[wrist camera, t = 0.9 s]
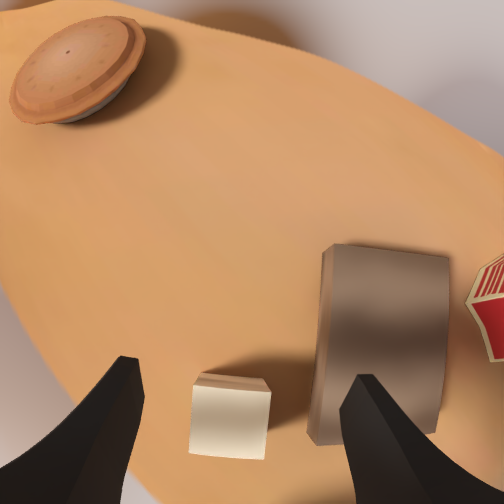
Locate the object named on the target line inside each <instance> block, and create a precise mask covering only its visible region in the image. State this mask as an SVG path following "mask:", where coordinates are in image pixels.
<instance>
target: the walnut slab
mask: <svg viewBox="0 0 504 504" xmlns="http://www.w3.org/2000/svg"><path fill="white" fill-rule="evenodd" d="M448 322H449V258H445V257H438V256H430V255H423V254H415V253H407V252H399V251H391V250H383V249H375V248H367V247H359V246H351V245H343V244H333V245H332V246H331V247H329V248H328V249H327V250H326V251H324V252H323V253H322V273H321V291H320V306H319V320H318V332H317V344H316V355H315V365H314V375H313V384H312V393H311V401H310V409H309V417H308V425H307V432H306V433H307V434H308V435H309V437H310V438H311V439H312V441H313V442H314V443H315V445H316V446H323V445H343V444H344V442H343V438H342V432H341V424H340V414H339V408H340V406H341V405H342V403H343V401H344V399H345V397H346V395H347V393H348V391H349V389H350V387H351V385H352V384H353V382H354V380H355V378H356V376H357V374H373V375H374V376H375V377H376V378H377V379H378V381H379V382H380V383H381V384H382V385H383V387H384V388H385V389H386V390H387V392H388V393H389V394H390V395H391V397H392V398H393V399H394V400H395V402H396V403H397V404H398V405H399V406H400V408H401V409H402V410H403V411H404V412H405V414H406V415H407V416H408V417H409V418H410V419H411V421H412V422H413V423H414V424H415V425H416V426H417V427H418V428H419V429H420V431H421V432H422V433H423V434H424V435H425V434H430V433H435V431H436V426H437V420H438V415H439V409H440V403H441V396H442V389H443V382H444V373H445V364H446V353H447V340H448Z"/></svg>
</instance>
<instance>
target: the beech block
mask: <svg viewBox="0 0 504 504" xmlns="http://www.w3.org/2000/svg"><path fill="white" fill-rule="evenodd" d="M270 400H271V391H270V389H269V388H268V386H267V384H266V383H265V381H264V379H263V378H252V377H240V376H229V375H219V374H210V373H200V375H199V376H198V378H197V380H196V382H195V383H194V385H193V397H192V410H191V425H190V441H189V453H193V454H201V455H209V456H219V457H230V458H244V459H264V453H265V445H266V436H267V427H268V419H269V410H270Z"/></svg>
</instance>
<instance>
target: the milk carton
mask: <svg viewBox="0 0 504 504" xmlns="http://www.w3.org/2000/svg"><path fill="white" fill-rule="evenodd" d="M465 304H466V306H467V307H468V309H469V310H470V312H471V314H472V315H473V317H474V318H475V320H476V322H477V323H478V325H479V327H480V330H481V333H482V336H483V339H484V343H485V346H486V349H487V353H488V356H489V360H490V362H503V361H504V254H503V255H501V256H500V257H498V258H497V259H495V260H494V261H492V262H491V263H489V264H487V265H486V266H484V267H483V268H481V269H480V271H479V273H478V276H477V278H476V280H475V283H474V285H473V287H472V289H471V292H470V294H469V296H468V298H467V300H466V302H465Z"/></svg>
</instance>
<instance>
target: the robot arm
mask: <svg viewBox="0 0 504 504" xmlns="http://www.w3.org/2000/svg"><path fill="white" fill-rule="evenodd" d="M144 398H145V395H144V390H143V384H142V379H141V373H140V367H139V360H138V359H137V358H131V357H125V356H120V357H118V358H117V359H116V361H115V362H114V363H113V365H112V366H111V367H110V368H109V370H108V371H107V372H106V373H105V375H104V376H103V377H102V378H101V380H100V381H99V382H98V383H97V384H96V386H95V387H94V388H93V389H92V390H91V391H90V392H89V394H88V395H87V396H86V397H85V398H84V399H83V400H82V401H81V403H80V404H79V405H78V406H77V407H76V408H75V409H74V410H73V411H72V412H71V413H70V414H69V415H68V416H67V417H66V418H65V419H64V420H63V421H62V422H61V423H60V424H59V425H58V426H57V427H56V428H55V429H54V430H53V431H51V432H50V433H49V434H48V435H47V436H46V437H44V438H43V439H42V440H41V441H39V442H38V443H37V444H36V445H34V446H33V447H32V448H30V449H29V450H28V451H26V452H25V453H24V454H22V455H21V456H19V457H18V458H16V459H14V460H13V461H11V462H10V463H8V464H6V465H5V466H3V467H1V468H0V504H120V500H121V493H122V486H123V481H124V476H125V473H126V470H127V466H128V463H129V459H130V456H131V452H132V449H133V445H134V442H135V439H136V435H137V432H138V428H139V425H140V421H141V415H142V410H143V404H144ZM339 414H340V424H341V432H342V438H343V442H344V446H345V450H346V454H347V458H348V462H349V467H350V471H351V475H352V479H353V483H354V488H355V494H356V503H357V504H504V492H502V491H500V490H498V489H496V488H494V487H492V486H490V485H488V484H486V483H485V482H483V481H481V480H479V479H478V478H476V477H475V476H473V475H471V474H470V473H468V472H467V471H466V470H464V469H463V468H462V467H460V466H459V465H457V464H456V463H455V462H454V461H452V460H451V459H450V458H449V457H448V456H446V455H445V454H444V453H443V452H442V451H441V450H440V449H438V448H437V447H436V446H435V445H434V444H433V443H432V442H431V441H430V440H429V439H428V438H427V437H426V436H425V435H424V434H423V433H422V432H421V431H420V429H419V428H418V427H417V426H416V425H415V424H414V423H413V422H412V421H411V419H410V418H409V417H408V416H407V415H406V414H405V412H404V411H403V410H402V409H401V408H400V406H399V405H398V404H397V403H396V402H395V400H394V399H393V398H392V397H391V395H390V394H389V393H388V392H387V390H386V389H385V388H384V387H383V385H382V384H381V383H380V382H379V381H378V379H377V378H376V377H375V376H374V375H373V374H357V376H356V378H355V380H354V382H353V384H352V385H351V387H350V389H349V391H348V393H347V395H346V397H345V399H344V401H343V403H342V405H341V406H340V408H339Z"/></svg>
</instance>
